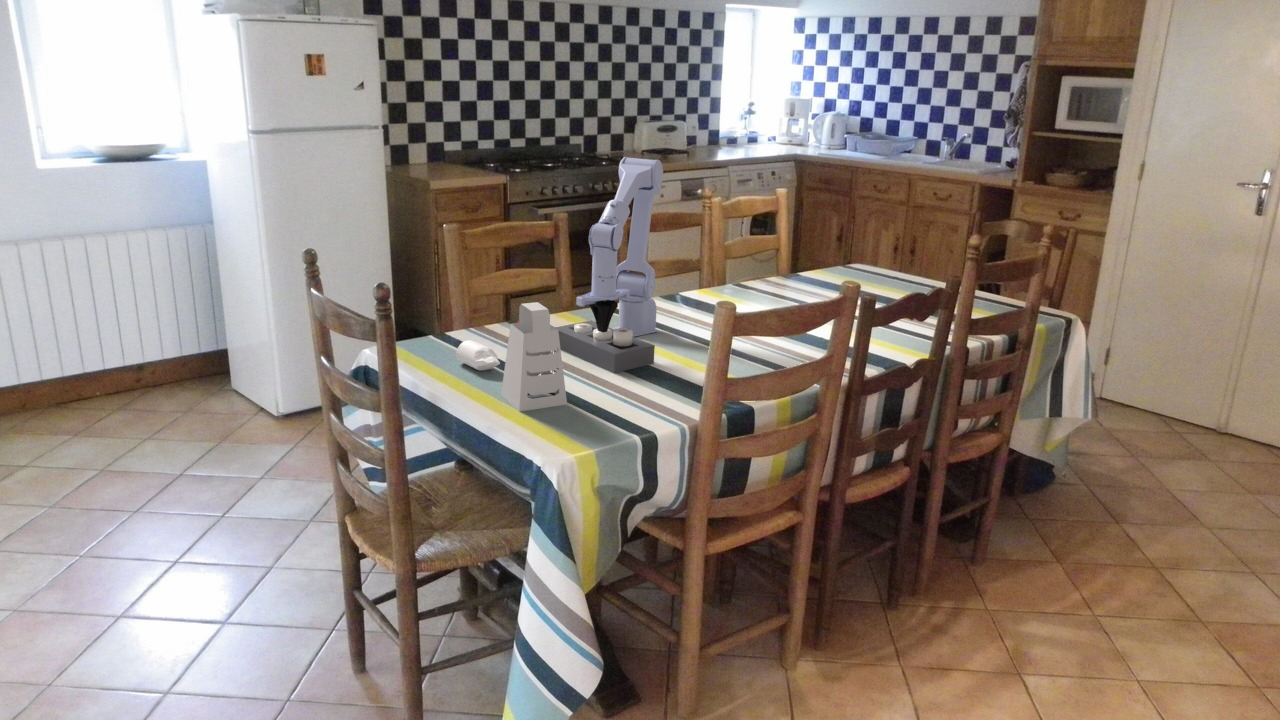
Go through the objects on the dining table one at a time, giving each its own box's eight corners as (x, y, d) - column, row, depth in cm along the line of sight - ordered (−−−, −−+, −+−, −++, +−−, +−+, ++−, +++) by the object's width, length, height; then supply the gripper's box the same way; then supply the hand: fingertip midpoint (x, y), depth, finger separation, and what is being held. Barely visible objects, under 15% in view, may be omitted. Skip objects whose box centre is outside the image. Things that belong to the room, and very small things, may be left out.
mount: (590, 337, 237) (591, 320, 236) (653, 363, 220) (654, 345, 219) (551, 345, 230) (552, 327, 228) (614, 373, 212) (614, 354, 211)
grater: (547, 387, 202) (548, 297, 196) (567, 404, 193) (569, 310, 187) (501, 394, 197) (500, 302, 191) (519, 411, 189) (519, 315, 182)
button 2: (623, 339, 221) (624, 327, 220) (635, 344, 218) (636, 331, 217) (609, 342, 218) (609, 330, 217) (621, 347, 215) (621, 335, 214)
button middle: (603, 339, 227) (604, 327, 226) (615, 343, 224) (615, 331, 223) (589, 342, 224) (589, 330, 223) (600, 346, 221) (601, 334, 220)
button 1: (584, 334, 232) (584, 322, 231) (595, 338, 229) (595, 326, 228) (570, 337, 230) (570, 325, 229) (581, 341, 226) (581, 329, 225)
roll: (484, 380, 205) (484, 355, 203) (456, 364, 214) (455, 341, 212) (507, 374, 209) (507, 350, 207) (478, 360, 217) (478, 337, 216)
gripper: (590, 282, 211) (588, 340, 215) (639, 274, 220) (636, 330, 225) (571, 276, 216) (570, 332, 220) (619, 268, 225) (617, 323, 230)
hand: (602, 331), depth 223 cm, fingers closed, pressing on button middle
